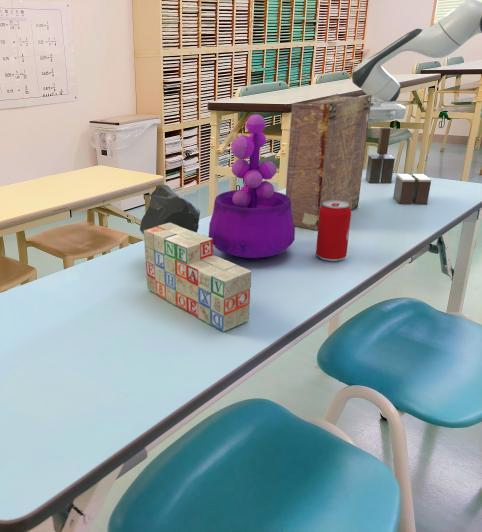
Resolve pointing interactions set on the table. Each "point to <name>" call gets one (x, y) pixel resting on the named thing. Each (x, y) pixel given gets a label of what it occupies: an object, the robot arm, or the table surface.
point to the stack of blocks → (196, 276)
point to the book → (325, 154)
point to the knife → (383, 145)
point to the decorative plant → (252, 204)
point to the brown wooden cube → (412, 188)
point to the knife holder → (379, 169)
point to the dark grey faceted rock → (169, 211)
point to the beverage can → (333, 230)
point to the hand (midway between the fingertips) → (377, 115)
